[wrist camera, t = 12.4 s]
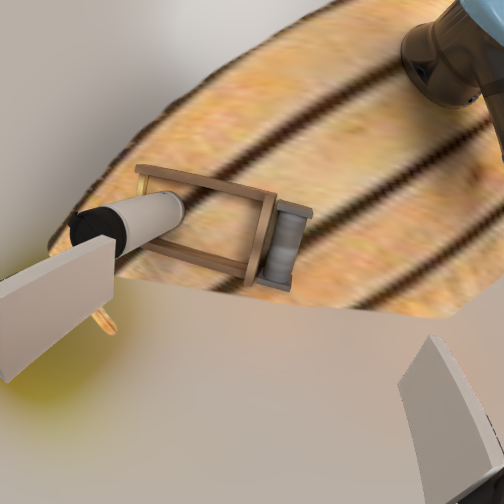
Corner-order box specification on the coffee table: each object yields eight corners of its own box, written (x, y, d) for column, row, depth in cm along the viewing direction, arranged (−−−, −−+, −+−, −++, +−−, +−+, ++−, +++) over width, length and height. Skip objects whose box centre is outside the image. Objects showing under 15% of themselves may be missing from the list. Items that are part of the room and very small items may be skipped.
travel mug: (166, 181, 43) (81, 195, 24) (192, 210, 44) (119, 244, 25) (143, 207, 45) (58, 236, 26) (168, 236, 46) (92, 281, 27)
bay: (145, 164, 43) (129, 164, 38) (313, 203, 40) (314, 208, 36) (135, 238, 47) (119, 246, 42) (289, 283, 44) (288, 297, 40)
